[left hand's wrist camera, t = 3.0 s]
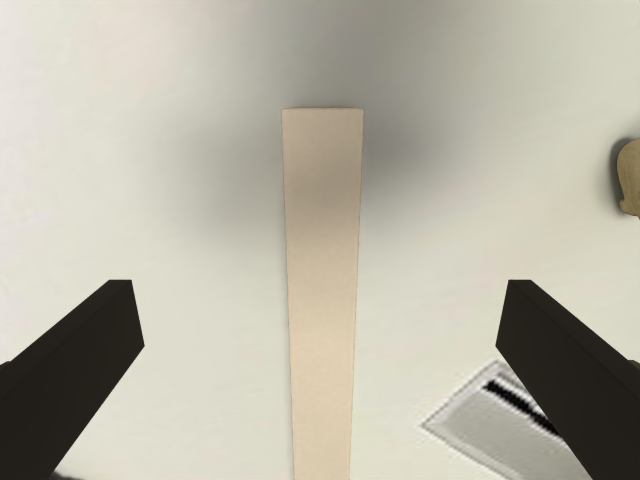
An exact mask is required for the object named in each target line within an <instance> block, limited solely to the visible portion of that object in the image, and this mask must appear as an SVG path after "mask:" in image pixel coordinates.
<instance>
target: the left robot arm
mask: <svg viewBox="0 0 640 480" xmlns="http://www.w3.org/2000/svg"><path fill="white" fill-rule="evenodd" d="M144 346H145V345H144V340H143V335H142V330H141V325H140V320H139V315H138V310H137V305H136V300H135V295H134V290H133V285H132V280H108V281H107V282H106V283H105V284H104V285H102V286H101V287H100V288H99V289H98V290H96V291H95V292H94V293H93V294H91V295H90V296H89V297H88V298H87V299H85V300H84V301H83V302H82V303H81V304H79V305H78V306H77V307H76V308H75V309H73V310H72V311H71V312H70V313H68V314H67V315H66V316H65V317H64V318H62V319H61V320H60V321H59V322H58V323H56V324H55V325H54V326H53V327H52V328H50V329H49V330H48V331H47V332H45V333H44V334H43V335H42V336H41V337H39V338H38V339H37V340H36V341H35V342H33V343H32V344H31V345H30V346H29V347H27V348H26V349H25V350H24V351H22V352H21V353H20V354H19V355H18V356H16V357H15V358H14V359H13V360H12V361H7V362H5V363H3V364H1V365H0V480H47V479H48V478H49V476H50V475H51V474H52V472H53V471H54V470H55V468H56V467H57V465H58V464H59V463H60V461H61V460H62V459H63V457H64V456H65V455H66V453H67V452H68V450H69V449H70V448H71V446H72V445H73V444H74V442H75V441H76V439H77V438H78V437H79V435H80V434H81V433H82V431H83V430H84V428H85V427H86V426H87V424H88V423H89V422H90V420H91V419H92V418H93V416H94V415H95V413H96V412H97V411H98V409H99V408H100V407H101V405H102V404H103V402H104V401H105V400H106V398H107V397H108V396H109V394H110V393H111V391H112V390H113V389H114V387H115V386H116V385H117V383H118V382H119V380H120V379H121V378H122V376H123V375H124V374H125V372H126V371H127V370H128V368H129V367H130V365H131V364H132V363H133V361H134V360H135V359H136V357H137V356H138V354H139V353H140V352H141V350H142V349H143V348H144ZM495 346H496V348H497V349H498V350H499V352H500V353H501V354H502V356H503V357H504V359H505V360H506V361H507V363H508V364H509V365H510V367H511V368H512V370H513V371H514V372H515V374H516V375H517V376H518V378H519V379H520V380H521V382H522V383H523V385H524V386H525V387H526V389H527V390H528V391H529V393H530V394H531V396H532V397H533V398H534V400H535V401H536V402H537V404H538V405H539V407H540V408H541V409H542V411H543V412H544V413H545V415H546V416H547V418H548V419H549V420H550V422H551V423H552V424H553V426H554V427H555V428H556V430H557V431H558V433H559V434H560V435H561V437H562V438H563V439H564V441H565V442H566V444H567V445H568V446H569V448H570V449H571V450H572V452H573V453H574V455H575V456H576V457H577V459H578V460H579V461H580V463H581V464H582V465H583V467H584V468H585V470H586V471H587V472H588V474H589V475H590V476H591V478H592V479H593V480H640V363H638V362H636V361H634V360H627V359H626V358H625V357H624V356H622V355H621V354H620V353H619V352H618V351H616V350H615V349H614V348H613V347H611V346H610V345H609V344H608V343H607V342H605V341H604V340H603V339H602V338H601V337H599V336H598V335H597V334H596V333H595V332H593V331H592V330H591V329H590V328H588V327H587V326H586V325H585V324H584V323H582V322H581V321H580V320H579V319H578V318H576V317H575V316H574V315H573V314H572V313H570V312H569V311H568V310H567V309H565V308H564V307H563V306H562V305H561V304H559V303H558V302H557V301H556V300H555V299H553V298H552V297H551V296H550V295H549V294H547V293H546V292H545V291H544V290H542V289H541V288H540V287H539V286H538V285H536V284H535V283H534V282H533V281H532V280H508V285H507V290H506V295H505V300H504V305H503V310H502V315H501V320H500V325H499V330H498V335H497V340H496V345H495Z"/></svg>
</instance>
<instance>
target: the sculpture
mask: <svg viewBox="0 0 640 480" xmlns="http://www.w3.org/2000/svg"><path fill="white" fill-rule="evenodd" d="M617 172H618V177H619V181H620V184H621V187H622V190H623V194H624V197H625V198H623V199H621V200H620V203H619V204H620V207H621V209H622V211H624V212H625V213H627V214H630V215H633V216H638V218H639V219H640V139H636V140H633V141H631V142H630V143H628V144H626V145H625V146H624V147H623V148H622V150H621V151H620V153H619V155H618V160H617Z"/></svg>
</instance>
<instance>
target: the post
mask: <svg viewBox="0 0 640 480" xmlns="http://www.w3.org/2000/svg"><path fill="white" fill-rule="evenodd" d="M281 115H282V144H283V172H284V201H285V229H286V258H287V286H288V315H289V343H290V372H291V401H292V429H293V458H294V480H349V472H350V447H351V422H352V397H353V372H354V347H355V322H356V297H357V272H358V247H359V222H360V196H361V171H362V146H363V121H364V109H357V108H288V109H282V110H281Z"/></svg>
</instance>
